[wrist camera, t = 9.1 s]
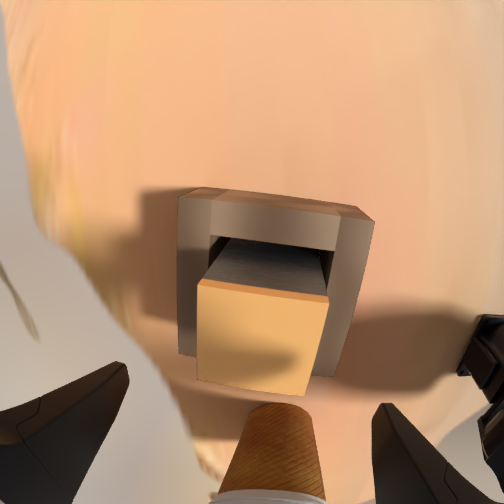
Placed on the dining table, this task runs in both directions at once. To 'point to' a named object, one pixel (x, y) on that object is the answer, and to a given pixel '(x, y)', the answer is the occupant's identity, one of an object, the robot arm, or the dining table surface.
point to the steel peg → (261, 316)
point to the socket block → (275, 231)
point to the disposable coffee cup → (274, 460)
